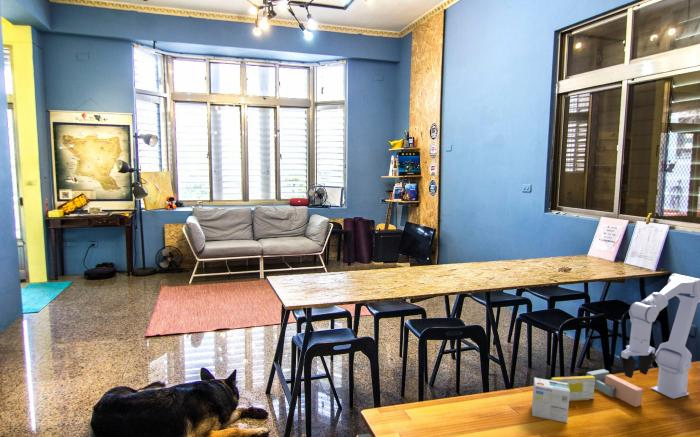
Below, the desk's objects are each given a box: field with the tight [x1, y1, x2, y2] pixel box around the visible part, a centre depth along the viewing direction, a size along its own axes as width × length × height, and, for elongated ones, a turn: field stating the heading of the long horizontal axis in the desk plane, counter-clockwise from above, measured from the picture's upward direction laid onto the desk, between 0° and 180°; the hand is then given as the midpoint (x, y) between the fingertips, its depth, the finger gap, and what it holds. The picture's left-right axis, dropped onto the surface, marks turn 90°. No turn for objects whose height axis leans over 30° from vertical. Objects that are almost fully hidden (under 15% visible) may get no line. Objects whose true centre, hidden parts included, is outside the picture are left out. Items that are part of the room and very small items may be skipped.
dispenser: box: [586, 368, 616, 398], centre depth 167 cm, size 9×10×5 cm
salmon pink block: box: [605, 373, 644, 407], centre depth 161 cm, size 3×12×6 cm, turn 23°
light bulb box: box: [531, 376, 570, 424], centre depth 147 cm, size 11×7×11 cm, turn 71°
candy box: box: [550, 375, 595, 402], centre depth 158 cm, size 16×2×8 cm, turn 99°
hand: (635, 375), depth 156 cm, fingers open, 7 cm apart
